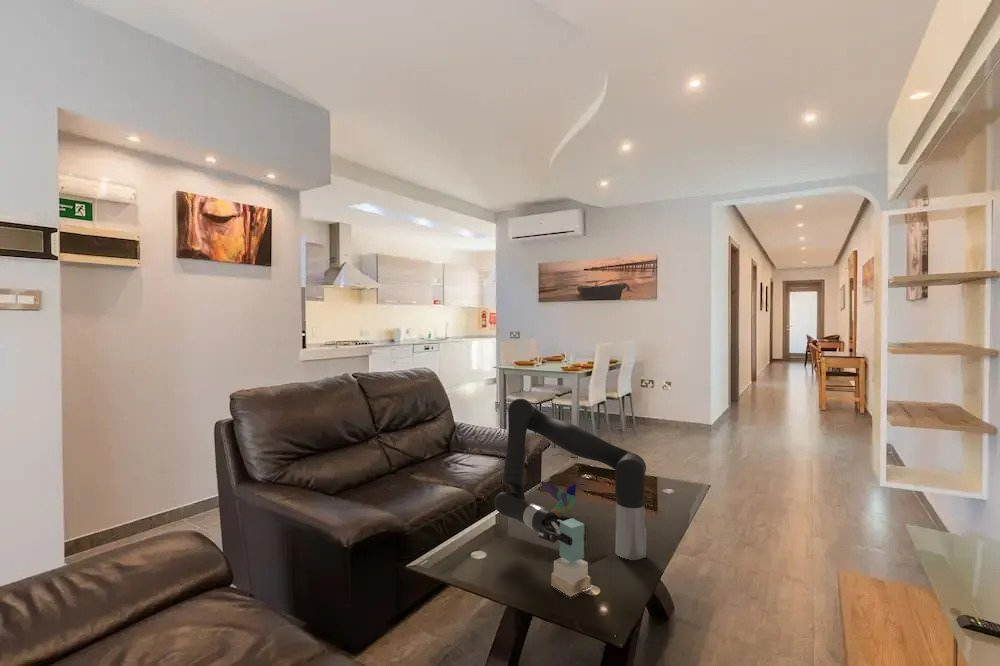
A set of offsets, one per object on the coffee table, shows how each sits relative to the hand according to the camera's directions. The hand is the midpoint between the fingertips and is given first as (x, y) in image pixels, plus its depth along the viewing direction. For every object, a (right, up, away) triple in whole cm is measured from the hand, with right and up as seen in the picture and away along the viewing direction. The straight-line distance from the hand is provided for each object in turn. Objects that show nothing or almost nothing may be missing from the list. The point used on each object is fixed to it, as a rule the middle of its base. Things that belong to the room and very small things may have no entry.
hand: (578, 539), depth 142 cm
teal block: (-2, -6, +2) cm, 7 cm away
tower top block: (-2, -12, +3) cm, 12 cm away
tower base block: (-2, -16, +3) cm, 16 cm away
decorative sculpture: (+3, -14, +56) cm, 57 cm away
